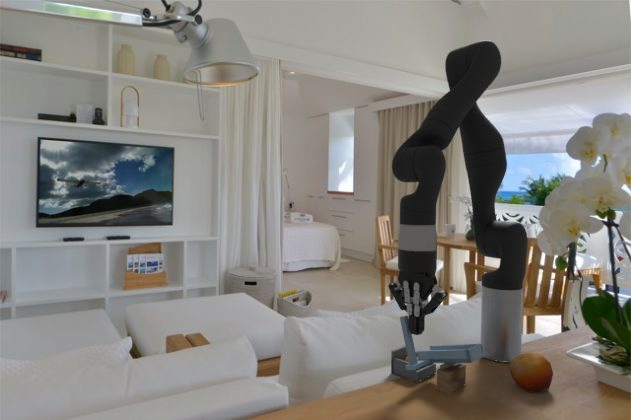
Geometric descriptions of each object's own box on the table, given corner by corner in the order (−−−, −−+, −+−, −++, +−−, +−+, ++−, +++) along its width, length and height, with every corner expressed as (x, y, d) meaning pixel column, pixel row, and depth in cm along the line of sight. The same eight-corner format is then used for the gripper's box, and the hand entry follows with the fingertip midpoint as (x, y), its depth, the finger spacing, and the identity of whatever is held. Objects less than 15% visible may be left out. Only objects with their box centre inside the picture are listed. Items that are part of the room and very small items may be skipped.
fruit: (569, 391, 84) (546, 354, 85) (531, 408, 86) (509, 372, 86) (555, 375, 92) (534, 341, 93) (520, 391, 94) (500, 358, 94)
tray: (410, 365, 101) (410, 343, 101) (435, 373, 96) (436, 351, 96) (391, 373, 96) (391, 350, 96) (417, 382, 91) (417, 359, 91)
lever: (433, 356, 96) (423, 309, 97) (484, 356, 87) (472, 304, 89) (402, 369, 88) (392, 318, 90) (455, 370, 79) (442, 313, 81)
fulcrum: (454, 380, 93) (454, 354, 93) (465, 383, 91) (466, 357, 91) (436, 389, 88) (436, 362, 88) (447, 394, 86) (448, 366, 86)
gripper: (457, 248, 85) (456, 337, 85) (401, 243, 94) (400, 323, 95) (436, 251, 79) (434, 346, 80) (379, 245, 89) (378, 330, 90)
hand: (416, 333), depth 87 cm, fingers closed
